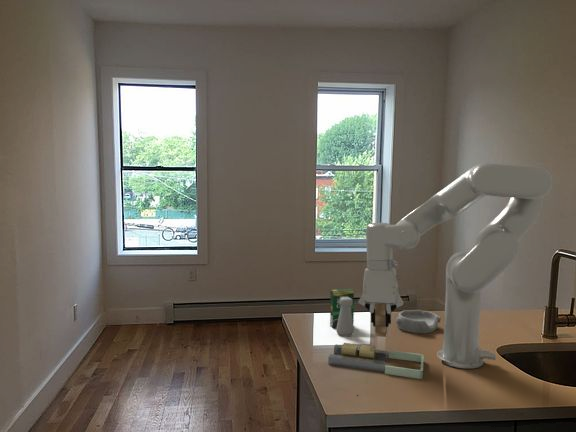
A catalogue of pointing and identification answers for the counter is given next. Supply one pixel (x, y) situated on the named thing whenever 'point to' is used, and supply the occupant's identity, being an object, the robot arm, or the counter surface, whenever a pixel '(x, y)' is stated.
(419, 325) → the dish
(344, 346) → the tan cube
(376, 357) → the slot board
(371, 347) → the chip
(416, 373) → the tray
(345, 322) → the salt shaker
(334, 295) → the coffee box
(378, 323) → the tan gable carton
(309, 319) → the counter surface
